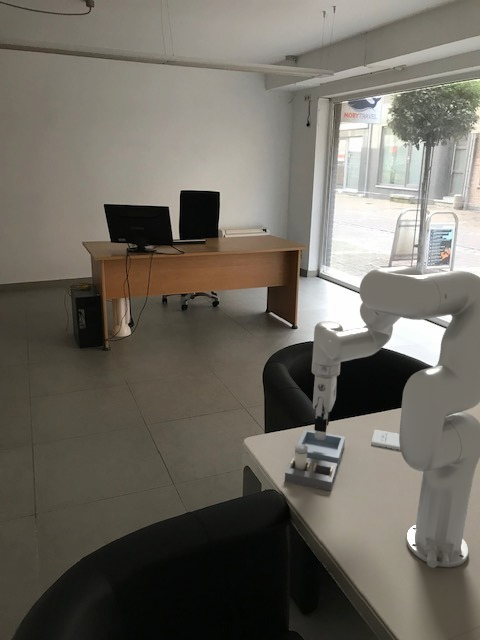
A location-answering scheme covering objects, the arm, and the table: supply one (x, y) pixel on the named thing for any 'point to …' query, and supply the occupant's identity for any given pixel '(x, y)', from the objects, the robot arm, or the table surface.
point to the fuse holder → (312, 473)
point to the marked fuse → (319, 434)
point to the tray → (323, 446)
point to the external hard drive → (386, 439)
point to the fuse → (300, 457)
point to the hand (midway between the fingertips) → (321, 427)
